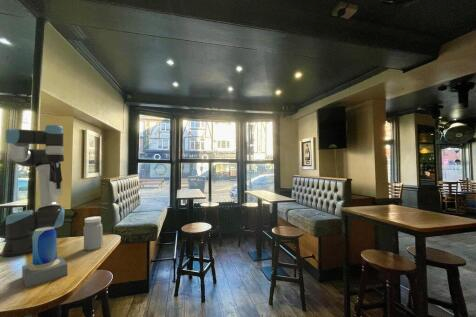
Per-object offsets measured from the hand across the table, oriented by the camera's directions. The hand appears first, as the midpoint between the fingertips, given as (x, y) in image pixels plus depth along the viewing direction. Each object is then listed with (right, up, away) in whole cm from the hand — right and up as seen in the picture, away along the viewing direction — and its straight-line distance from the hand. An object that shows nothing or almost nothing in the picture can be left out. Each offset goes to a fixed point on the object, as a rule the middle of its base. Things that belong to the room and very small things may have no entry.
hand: (55, 194), depth 121 cm
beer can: (+9, -29, -17) cm, 35 cm away
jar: (+10, -35, +16) cm, 39 cm away
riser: (+10, -34, -18) cm, 40 cm away
